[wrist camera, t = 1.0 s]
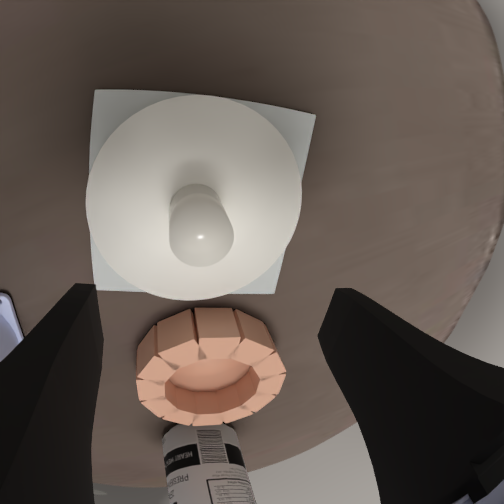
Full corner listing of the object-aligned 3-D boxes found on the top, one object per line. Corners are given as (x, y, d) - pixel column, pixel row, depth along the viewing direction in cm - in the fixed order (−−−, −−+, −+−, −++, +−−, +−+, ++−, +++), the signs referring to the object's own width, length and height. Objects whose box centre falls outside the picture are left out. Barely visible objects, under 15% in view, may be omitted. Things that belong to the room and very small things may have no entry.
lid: (95, 289, 18) (82, 337, 14) (95, 89, 12) (68, 88, 9) (273, 293, 21) (295, 337, 18) (315, 115, 16) (357, 124, 12)
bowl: (143, 399, 24) (144, 426, 22) (133, 306, 20) (130, 336, 17) (259, 394, 28) (267, 419, 25) (287, 306, 23) (301, 333, 20)
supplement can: (238, 442, 32) (271, 550, 19) (172, 452, 31) (192, 561, 18) (231, 410, 28) (271, 546, 15) (152, 422, 27) (169, 559, 14)
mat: (96, 286, 18) (94, 289, 18) (96, 89, 13) (95, 89, 12) (272, 290, 22) (274, 293, 21) (313, 114, 16) (316, 115, 16)
